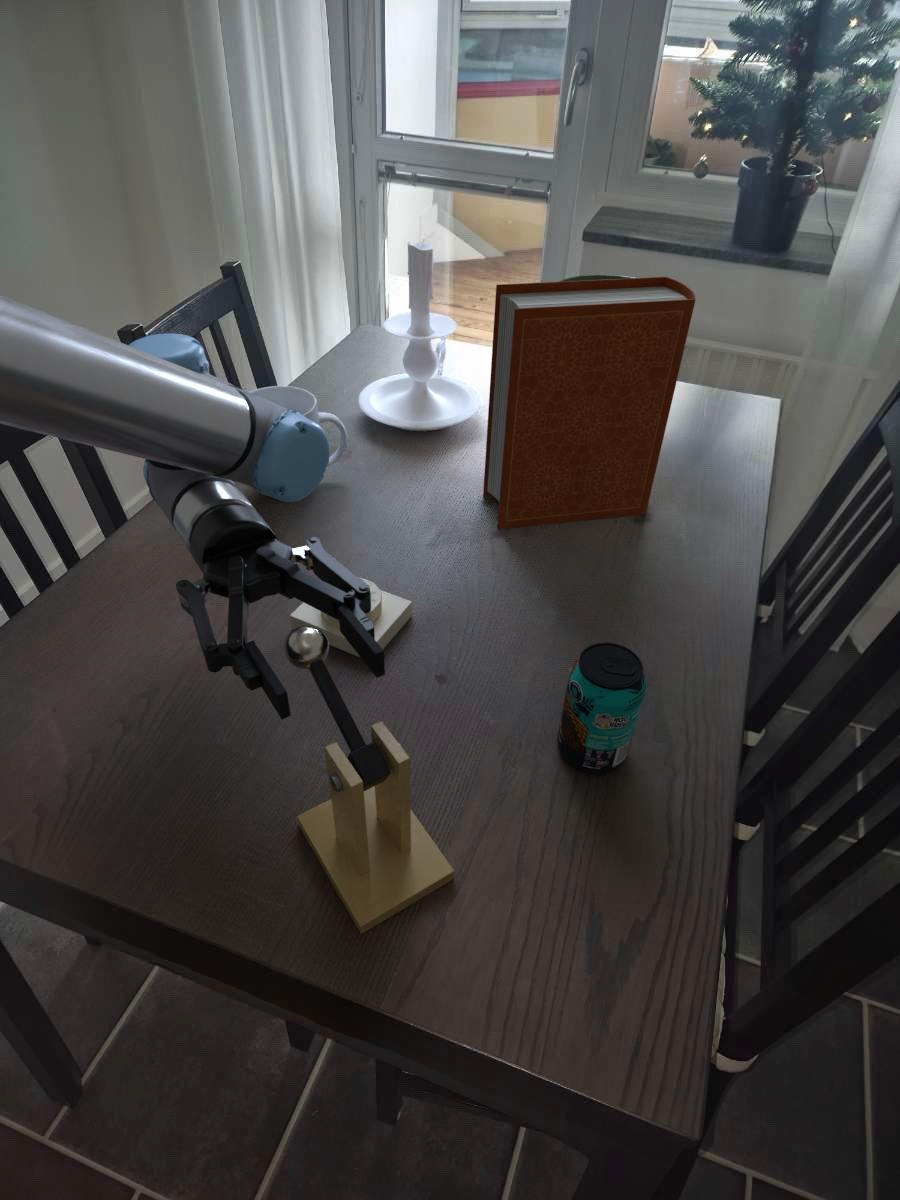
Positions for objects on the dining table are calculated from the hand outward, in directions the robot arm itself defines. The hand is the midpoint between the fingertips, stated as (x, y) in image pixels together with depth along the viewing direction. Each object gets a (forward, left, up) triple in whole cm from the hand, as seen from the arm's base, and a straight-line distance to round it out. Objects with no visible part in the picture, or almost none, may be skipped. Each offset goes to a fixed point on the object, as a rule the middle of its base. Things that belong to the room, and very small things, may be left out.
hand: (333, 684), depth 59 cm
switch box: (-14, +22, -17) cm, 30 cm away
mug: (-38, +43, -17) cm, 59 cm away
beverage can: (+17, +18, -17) cm, 30 cm away
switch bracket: (+4, -2, -17) cm, 17 cm away
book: (-1, +58, -17) cm, 60 cm away
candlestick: (-33, +73, -17) cm, 81 cm away
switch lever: (-1, 0, -4) cm, 4 cm away
